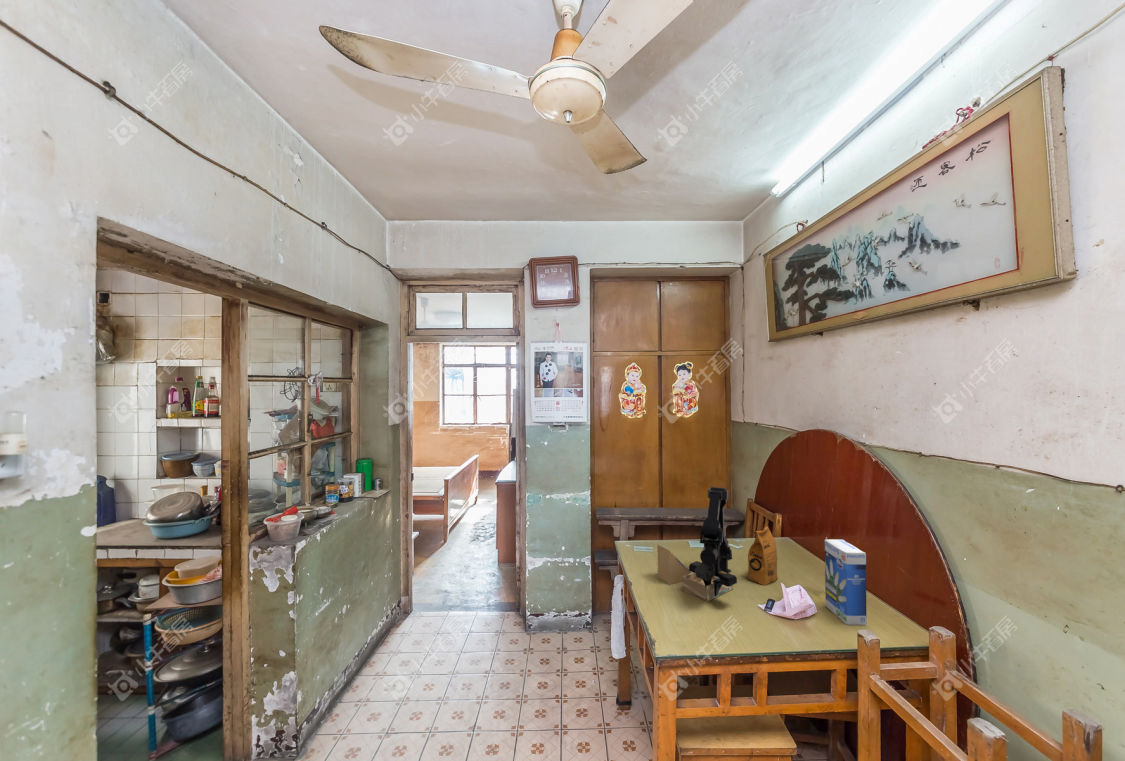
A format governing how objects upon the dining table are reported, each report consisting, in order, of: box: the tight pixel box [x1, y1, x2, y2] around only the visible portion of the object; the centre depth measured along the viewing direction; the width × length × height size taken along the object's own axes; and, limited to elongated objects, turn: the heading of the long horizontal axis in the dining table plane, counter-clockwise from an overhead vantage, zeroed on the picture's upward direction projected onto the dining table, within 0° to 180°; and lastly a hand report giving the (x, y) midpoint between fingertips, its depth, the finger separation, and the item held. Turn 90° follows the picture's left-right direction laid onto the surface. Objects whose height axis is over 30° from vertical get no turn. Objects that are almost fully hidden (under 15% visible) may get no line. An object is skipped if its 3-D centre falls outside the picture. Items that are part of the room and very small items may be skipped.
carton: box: [681, 571, 726, 601], centre depth 178 cm, size 18×11×5 cm, turn 126°
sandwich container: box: [657, 544, 692, 586], centre depth 189 cm, size 9×15×15 cm, turn 114°
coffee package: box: [747, 526, 778, 586], centre depth 186 cm, size 10×12×22 cm
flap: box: [706, 583, 734, 602], centre depth 173 cm, size 17×1×6 cm, turn 126°
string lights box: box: [824, 538, 868, 626], centre depth 157 cm, size 13×8×26 cm, turn 178°
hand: (712, 594), depth 170 cm, fingers open, 3 cm apart
